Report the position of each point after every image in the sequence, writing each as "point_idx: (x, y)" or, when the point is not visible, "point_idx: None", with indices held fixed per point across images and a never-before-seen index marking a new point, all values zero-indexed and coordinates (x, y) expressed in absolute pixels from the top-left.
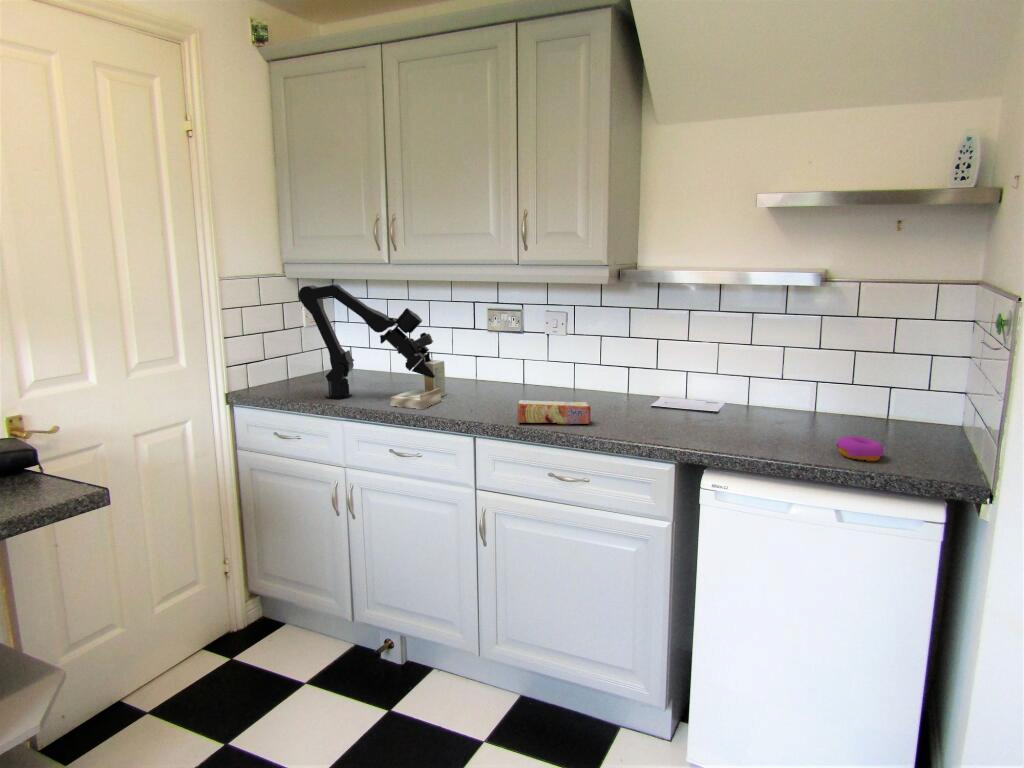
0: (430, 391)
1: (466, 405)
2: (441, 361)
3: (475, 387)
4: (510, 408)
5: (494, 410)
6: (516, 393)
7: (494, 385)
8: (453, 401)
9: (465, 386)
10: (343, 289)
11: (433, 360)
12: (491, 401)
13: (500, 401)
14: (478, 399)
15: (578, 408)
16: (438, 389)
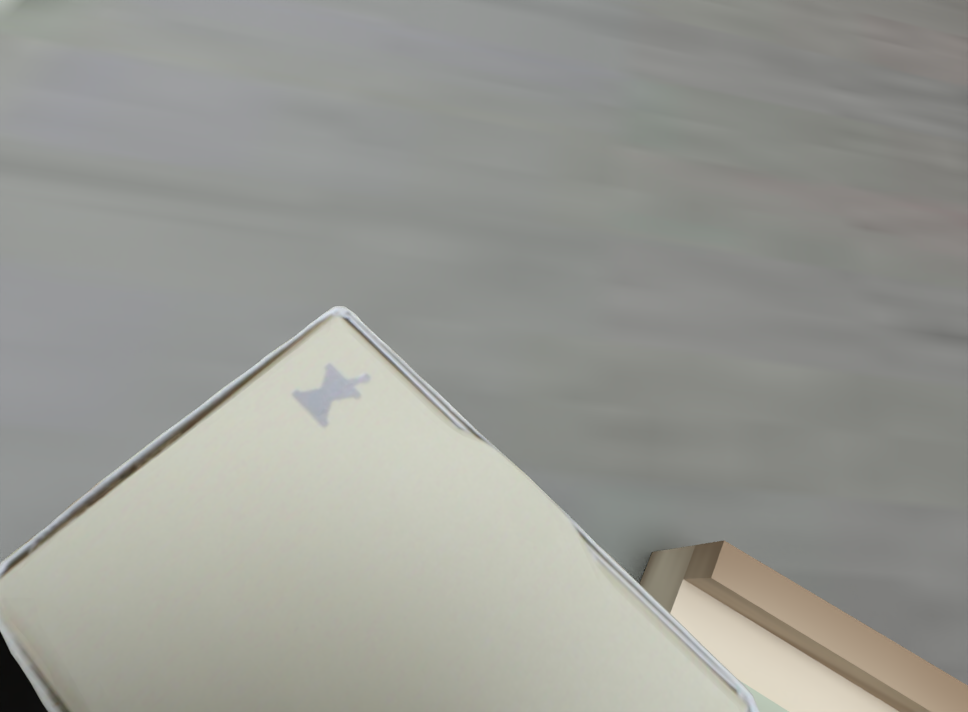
0: (942, 703)
1: (794, 348)
2: (402, 384)
3: (117, 188)
4: (849, 124)
5: (914, 206)
6: (445, 16)
7: (112, 62)
8: (652, 432)
9: (20, 254)
10: None
11: (30, 657)
12: (664, 177)
13: (666, 132)
14: (594, 240)
15: None
16: (778, 573)
